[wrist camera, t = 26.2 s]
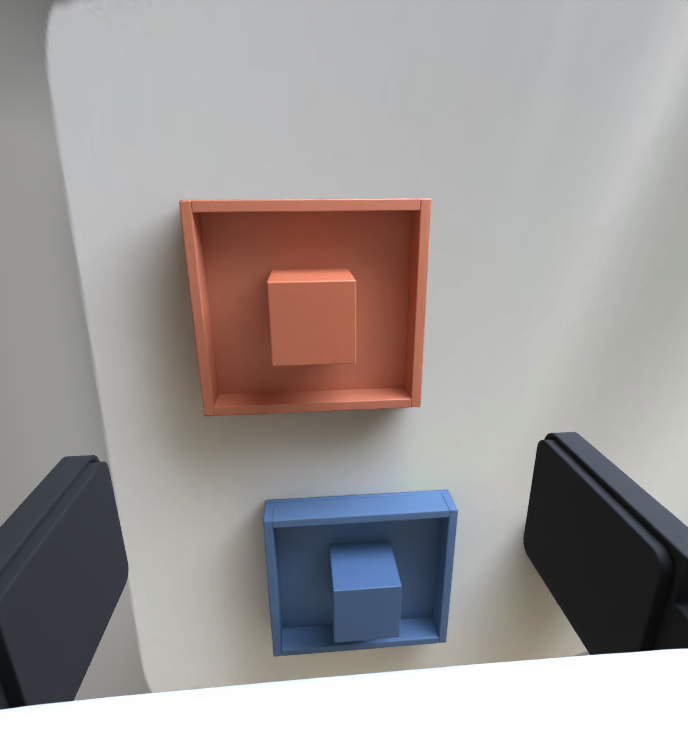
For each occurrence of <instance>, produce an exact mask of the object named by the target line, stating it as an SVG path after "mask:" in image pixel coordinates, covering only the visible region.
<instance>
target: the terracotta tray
mask: <svg viewBox="0 0 688 744" xmlns="http://www.w3.org/2000/svg"><path fill="white" fill-rule="evenodd" d="M179 204H180V212H181V221H182V229H183V238H184V246H185V255H186V263H187V272H188V280H189V289H190V297H191V306H192V314H193V323H194V331H195V340H196V348H197V357H198V365H199V374H200V382H201V391H202V400H203V408H204V415H205V416H214V415H215V416H220V415H243V414H267V413H290V412H314V411H337V410H360V409H384V408H407V407H420V404H421V385H422V367H423V348H424V329H425V310H426V292H427V273H428V254H429V235H430V216H431V199H421V198H418V199H279V200H181V201H179ZM312 268H348V270H349V271H350V273H351V274H352V276H353V277H354V279H355V280H356V363H354V364H328V365H299V366H272V360H271V344H270V327H269V311H268V295H267V281H268V279H269V276H270V273H271V271H272V269H312Z"/></svg>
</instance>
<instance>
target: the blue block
mask: <svg viewBox="0 0 688 744" xmlns="http://www.w3.org/2000/svg"><path fill="white" fill-rule="evenodd" d="M329 554H330V595H331V607H332V620H333V633H334V642H346V641H358V640H370V639H383V638H395V637H399V635H400V613H401V591H402V585H401V582H400V578H399V574H398V570H397V566H396V563H395V559H394V555H393V551H392V547H391V544H390V541H374V542H358V543H343V544H330V545H329Z"/></svg>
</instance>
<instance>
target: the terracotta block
mask: <svg viewBox="0 0 688 744" xmlns="http://www.w3.org/2000/svg"><path fill="white" fill-rule="evenodd" d="M267 295H268V311H269V327H270V344H271V360H272V366H299V365H328V364H354V363H356V280H355V279H354V277H353V276H352V274H351V273H350V271H349V270H348V268H312V269H272V271H271V273H270V276H269V279H268V281H267Z"/></svg>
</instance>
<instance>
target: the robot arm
mask: <svg viewBox="0 0 688 744" xmlns="http://www.w3.org/2000/svg"><path fill="white" fill-rule="evenodd" d="M524 548H525V551H526V554H527V556H528V557H529V559H530V561H531V562H532V564H533V565H534V567H535V569H536V570H537V572H538V573H539V575H540V576H541V578H542V580H543V581H544V583H545V584H546V586H547V587H548V589H549V591H550V592H551V594H552V595H553V597H554V598H555V600H556V602H557V603H558V605H559V606H560V608H561V609H562V611H563V613H564V614H565V616H566V617H567V619H568V620H569V622H570V624H571V625H572V627H573V628H574V630H575V632H576V633H577V635H578V636H579V638H580V639H581V641H582V643H583V644H584V646H585V647H586V649H587V650H588V652H589V654H590V655H587V656H574V657H562V658H550V659H537V660H525V661H512V662H500V663H488V664H475V665H463V666H451V667H440V668H428V669H416V670H405V671H393V672H382V673H370V674H359V675H347V676H336V677H325V678H313V679H302V680H291V681H279V682H268V683H258V684H247V685H236V686H225V687H215V688H204V689H193V690H183V691H172V692H161V693H150V694H141V695H129V696H118V697H108V698H99V699H89V700H79V701H74V698H75V696H76V694H77V692H78V689H79V687H80V685H81V683H82V681H83V678H84V676H85V674H86V672H87V669H88V667H89V665H90V662H91V661H92V658H93V656H94V654H95V652H96V649H97V647H98V645H99V643H100V640H101V638H102V636H103V634H104V631H105V629H106V627H107V625H108V622H109V620H110V618H111V616H112V613H113V611H114V609H115V607H116V605H117V602H118V600H119V598H120V596H121V593H122V591H123V589H124V586H125V584H126V582H127V578H128V561H127V556H126V551H125V546H124V541H123V536H122V531H121V526H120V521H119V516H118V511H117V506H116V501H115V497H114V492H113V487H112V482H111V477H110V472H109V468H108V465H107V463H106V462H100V461H99V459H98V457H97V456H95V455H89V456H68V457H64V458H63V459H61V460H60V462H59V463H58V464H57V465H56V466H55V468H54V469H52V470H51V472H50V473H49V474H48V475H47V476H46V477H45V478H44V479H43V481H42V482H41V483H40V484H39V485H38V486H37V487H36V488H35V489H34V490H33V492H32V493H31V494H30V495H29V496H28V497H27V498H26V499H25V501H24V502H23V503H22V504H21V505H20V506H19V507H18V508H17V509H16V510H15V512H14V513H13V514H12V515H11V516H10V517H9V518H8V519H7V521H6V522H5V523H4V524H3V525H2V526H1V527H0V744H688V527H687V526H686V525H685V524H683V523H682V522H681V521H680V520H679V519H678V518H676V517H675V516H674V515H673V514H672V513H671V512H669V511H668V510H667V509H666V508H665V507H663V506H662V505H661V504H660V503H659V502H658V501H656V500H655V499H654V498H653V497H652V496H651V495H649V494H648V493H647V492H646V491H645V490H644V489H642V488H641V487H640V486H639V485H638V484H636V483H635V482H634V481H633V480H632V479H631V478H629V477H628V476H627V475H626V474H625V473H624V472H622V471H621V470H620V469H619V468H618V467H617V466H615V465H614V464H613V463H612V462H611V461H609V460H608V459H607V458H606V457H605V456H604V455H602V454H601V453H600V452H599V451H598V450H597V449H595V448H594V447H593V446H592V445H591V444H590V443H588V442H587V441H586V440H585V439H584V438H582V437H581V436H580V435H579V434H577V433H576V432H566V433H549V434H548V435H546V437H545V439H544V440H541V441H539V443H538V446H537V452H536V459H535V465H534V472H533V479H532V485H531V492H530V499H529V505H528V512H527V519H526V525H525V532H524Z"/></svg>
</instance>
